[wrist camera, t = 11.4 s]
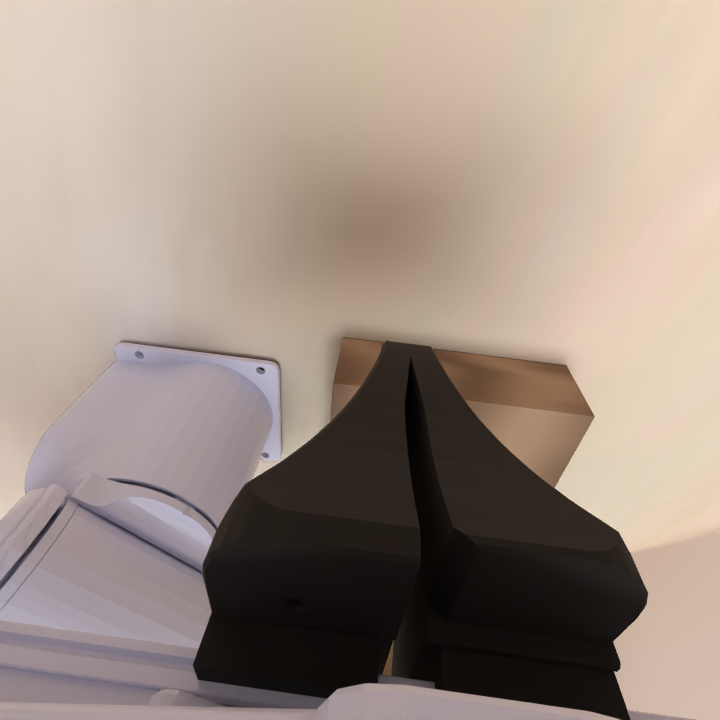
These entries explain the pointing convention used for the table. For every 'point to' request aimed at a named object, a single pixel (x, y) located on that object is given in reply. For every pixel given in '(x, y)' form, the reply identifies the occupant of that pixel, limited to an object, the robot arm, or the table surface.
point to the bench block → (496, 401)
